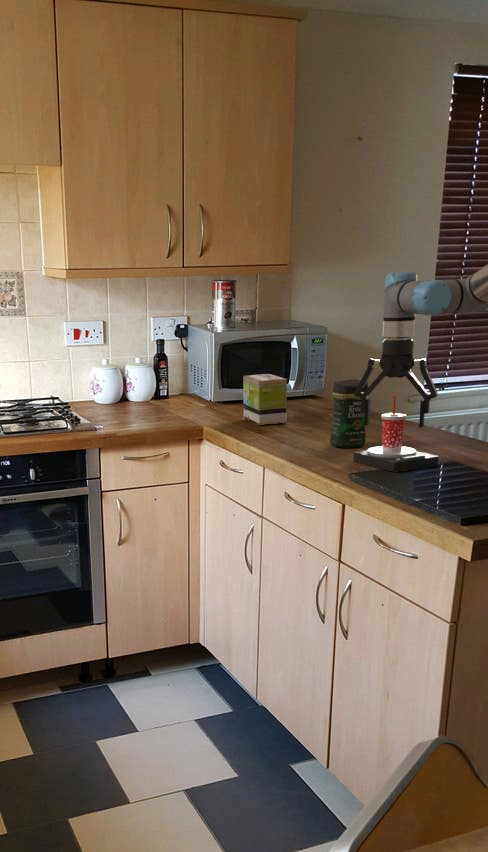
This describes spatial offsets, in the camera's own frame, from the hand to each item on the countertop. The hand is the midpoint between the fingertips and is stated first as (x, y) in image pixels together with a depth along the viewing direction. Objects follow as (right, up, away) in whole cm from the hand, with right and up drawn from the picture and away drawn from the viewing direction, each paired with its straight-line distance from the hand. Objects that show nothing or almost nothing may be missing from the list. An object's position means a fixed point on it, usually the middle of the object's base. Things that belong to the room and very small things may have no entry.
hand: (393, 425), depth 221 cm
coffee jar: (-6, -1, +26) cm, 27 cm away
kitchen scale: (+1, -9, +2) cm, 10 cm away
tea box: (-25, +13, +69) cm, 75 cm away
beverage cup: (0, -6, +2) cm, 7 cm away
